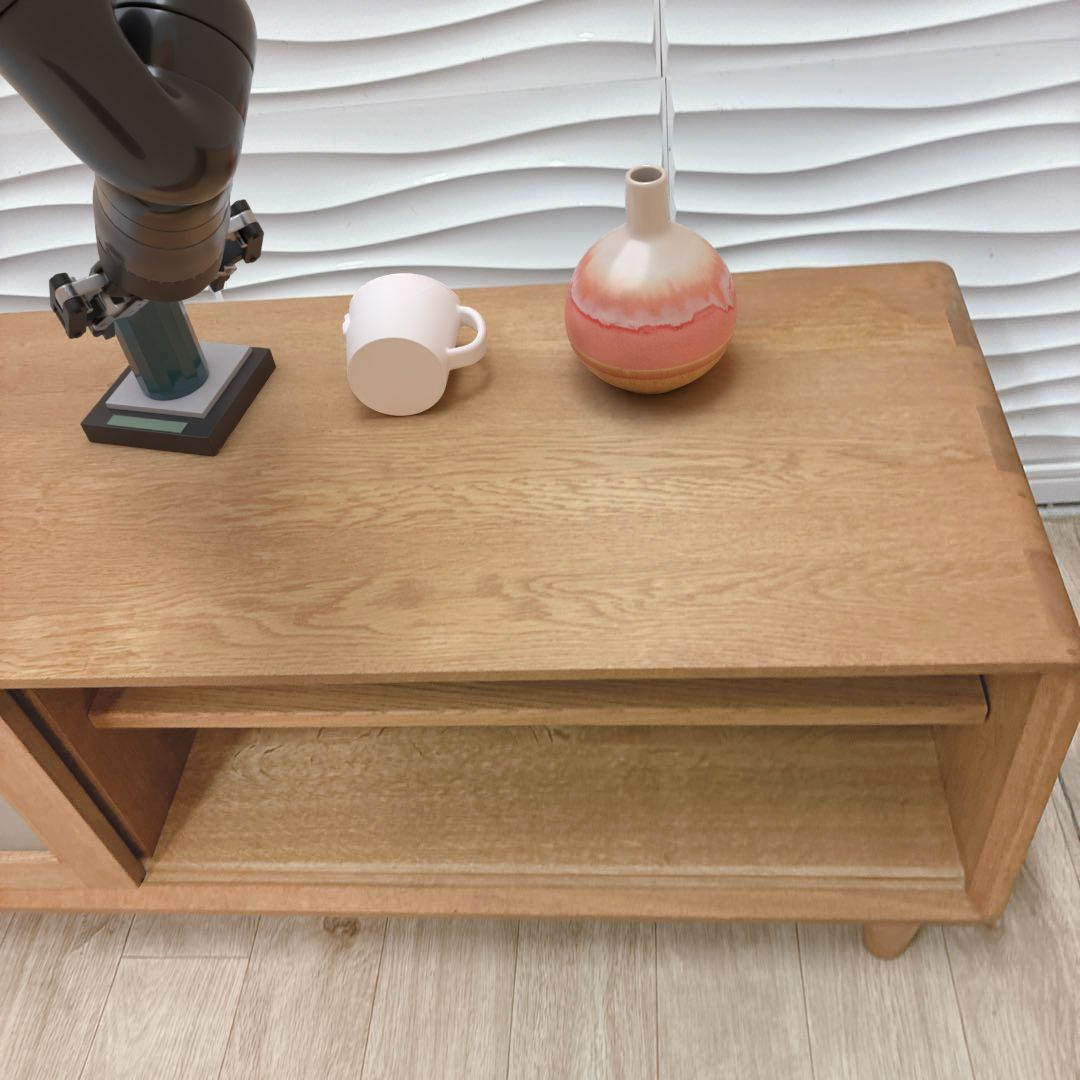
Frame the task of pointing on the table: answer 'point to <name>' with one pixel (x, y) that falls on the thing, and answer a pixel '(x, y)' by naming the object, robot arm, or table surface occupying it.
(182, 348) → the cup
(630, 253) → the vase
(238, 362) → the scale
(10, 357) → the table surface
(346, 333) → the mug
